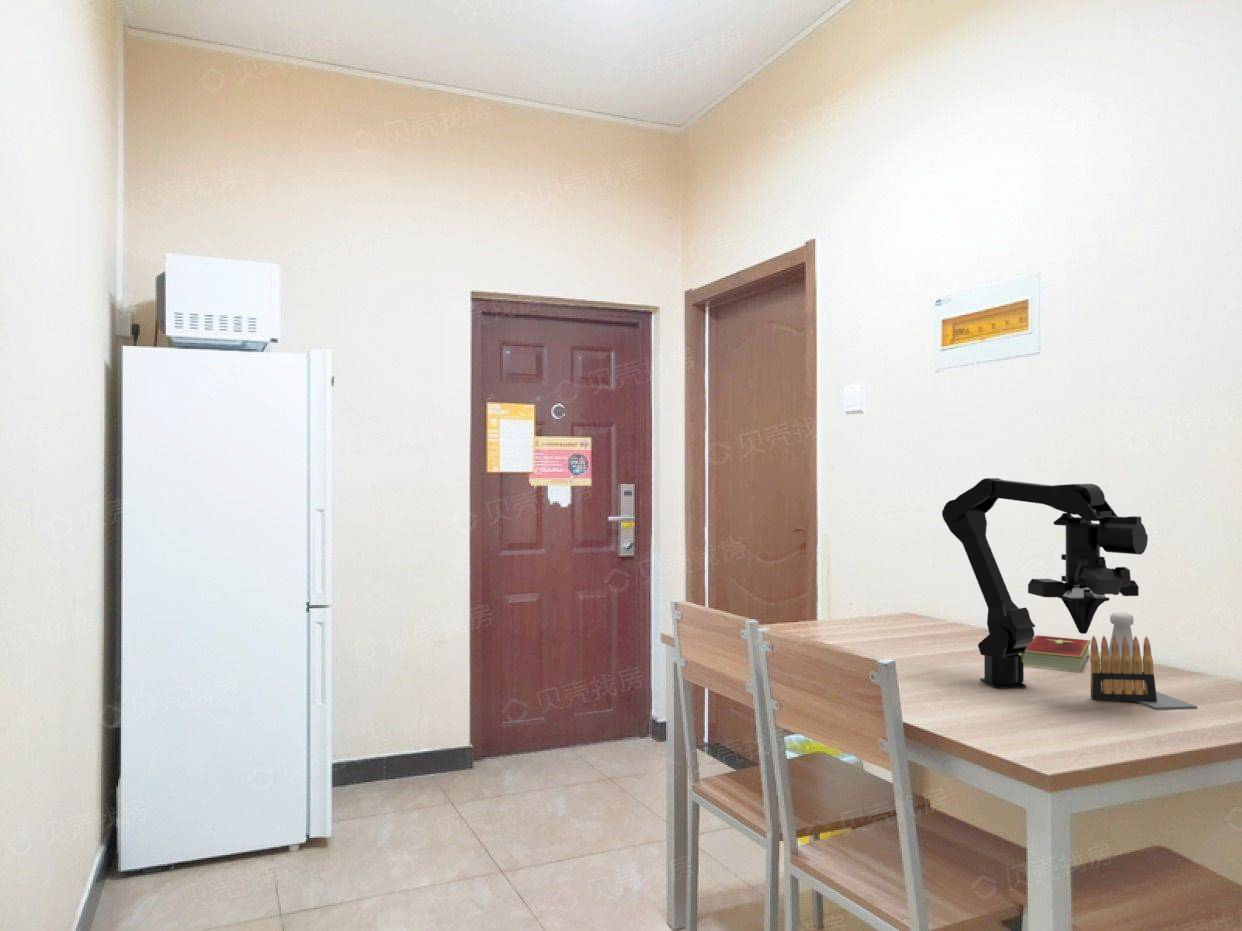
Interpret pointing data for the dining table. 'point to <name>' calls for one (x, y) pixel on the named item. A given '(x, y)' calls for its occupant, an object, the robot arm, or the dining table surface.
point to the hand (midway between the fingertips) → (1082, 633)
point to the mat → (1167, 703)
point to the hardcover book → (1056, 653)
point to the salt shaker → (1122, 632)
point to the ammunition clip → (1122, 672)
